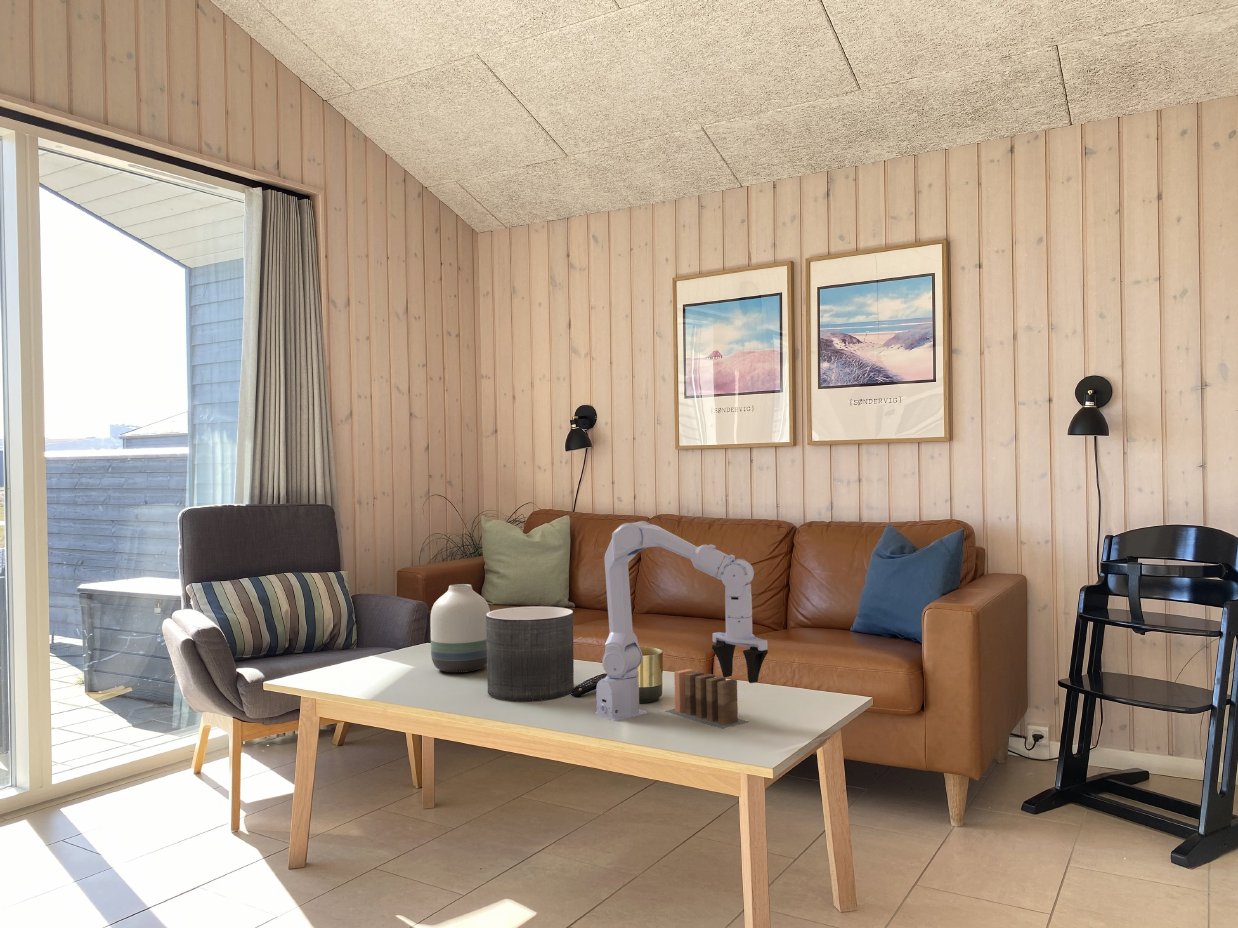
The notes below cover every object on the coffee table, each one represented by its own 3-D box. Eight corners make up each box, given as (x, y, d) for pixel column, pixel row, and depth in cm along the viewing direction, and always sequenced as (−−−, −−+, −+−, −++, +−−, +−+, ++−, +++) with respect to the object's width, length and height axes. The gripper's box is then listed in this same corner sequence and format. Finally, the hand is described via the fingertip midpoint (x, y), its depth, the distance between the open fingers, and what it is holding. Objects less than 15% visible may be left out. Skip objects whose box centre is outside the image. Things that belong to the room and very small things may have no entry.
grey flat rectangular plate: (723, 729, 188) (723, 728, 188) (664, 712, 203) (664, 710, 203) (749, 722, 193) (749, 721, 193) (690, 706, 208) (690, 704, 208)
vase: (439, 663, 262) (438, 582, 262) (496, 662, 261) (494, 581, 262) (424, 676, 245) (423, 589, 245) (485, 675, 244) (483, 588, 245)
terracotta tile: (679, 712, 201) (679, 672, 202) (675, 710, 203) (674, 671, 203) (694, 708, 204) (693, 669, 204) (689, 707, 205) (688, 668, 206)
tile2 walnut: (712, 721, 193) (711, 680, 193) (707, 720, 194) (706, 679, 195) (726, 718, 196) (725, 677, 196) (721, 716, 197) (720, 676, 197)
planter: (469, 697, 220) (468, 616, 220) (516, 678, 240) (515, 604, 240) (547, 705, 211) (545, 621, 211) (589, 685, 231) (587, 608, 231)
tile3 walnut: (701, 718, 196) (700, 677, 196) (696, 717, 197) (695, 676, 197) (715, 715, 199) (714, 674, 199) (710, 713, 200) (709, 673, 200)
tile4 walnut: (690, 715, 199) (689, 675, 199) (685, 713, 200) (684, 674, 200) (704, 711, 201) (703, 672, 202) (699, 710, 203) (698, 671, 203)
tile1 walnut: (723, 725, 190) (722, 683, 191) (718, 723, 192) (717, 682, 192) (737, 721, 193) (737, 680, 193) (732, 719, 194) (731, 678, 194)
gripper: (776, 617, 188) (778, 681, 188) (727, 610, 199) (729, 671, 199) (753, 621, 184) (755, 687, 183) (705, 614, 195) (706, 675, 195)
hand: (740, 679), depth 191 cm, fingers open, 7 cm apart
